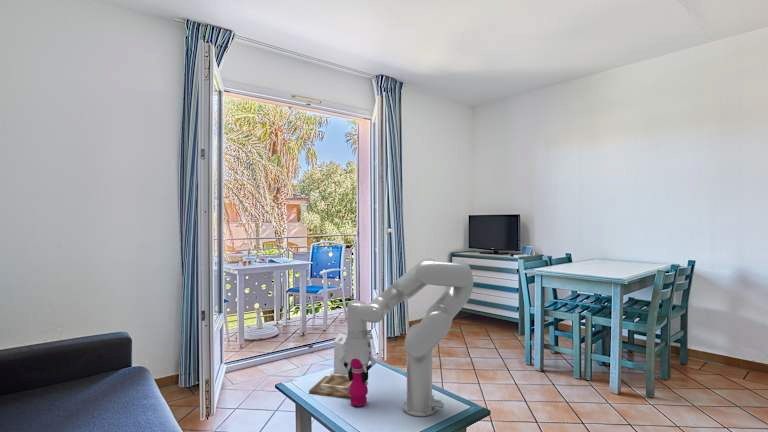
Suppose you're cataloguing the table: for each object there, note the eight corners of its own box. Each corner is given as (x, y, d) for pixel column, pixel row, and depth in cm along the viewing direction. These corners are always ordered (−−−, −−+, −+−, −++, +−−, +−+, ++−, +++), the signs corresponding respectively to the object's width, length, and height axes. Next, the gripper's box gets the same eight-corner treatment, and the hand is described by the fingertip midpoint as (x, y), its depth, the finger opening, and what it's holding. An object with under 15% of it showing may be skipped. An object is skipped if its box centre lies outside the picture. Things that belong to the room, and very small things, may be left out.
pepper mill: (365, 407, 147) (364, 353, 148) (347, 405, 149) (345, 353, 149) (370, 398, 154) (368, 347, 155) (352, 397, 156) (351, 346, 156)
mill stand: (367, 383, 170) (367, 375, 170) (354, 399, 155) (354, 391, 155) (325, 378, 176) (325, 370, 176) (308, 393, 161) (308, 385, 161)
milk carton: (346, 369, 187) (346, 329, 187) (355, 373, 182) (355, 332, 182) (333, 373, 182) (333, 332, 182) (343, 377, 177) (343, 335, 177)
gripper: (381, 332, 153) (382, 379, 153) (340, 329, 158) (341, 375, 158) (375, 337, 146) (376, 386, 146) (333, 335, 151) (333, 382, 150)
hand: (358, 380), depth 152 cm, fingers closed on pepper mill, 5 cm apart
